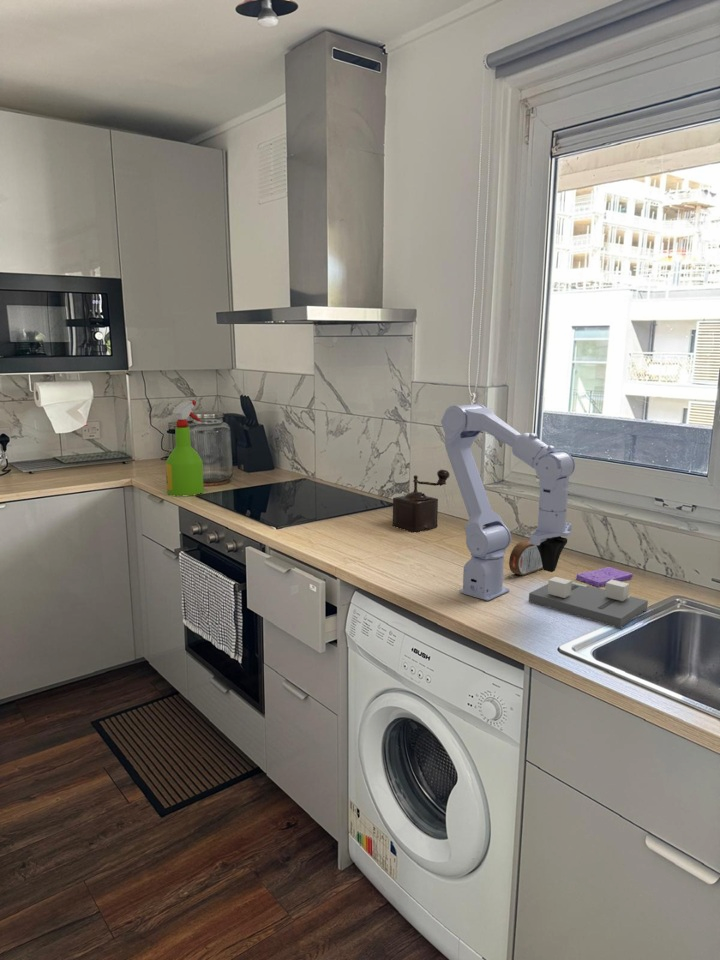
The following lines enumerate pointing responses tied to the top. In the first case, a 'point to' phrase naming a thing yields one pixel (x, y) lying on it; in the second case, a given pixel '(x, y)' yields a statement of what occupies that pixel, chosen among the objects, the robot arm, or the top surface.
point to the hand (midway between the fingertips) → (549, 570)
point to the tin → (525, 558)
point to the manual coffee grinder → (417, 507)
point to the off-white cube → (559, 587)
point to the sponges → (603, 576)
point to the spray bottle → (184, 457)
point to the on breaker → (617, 590)
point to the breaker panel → (591, 604)
